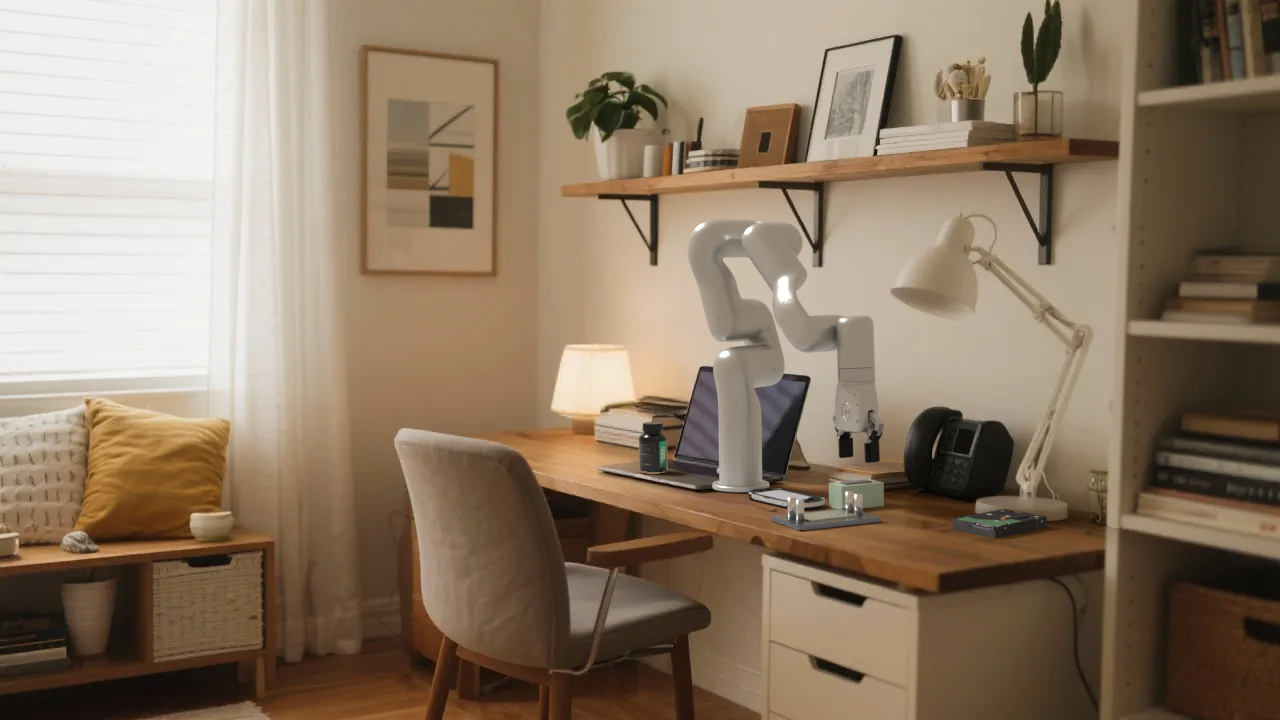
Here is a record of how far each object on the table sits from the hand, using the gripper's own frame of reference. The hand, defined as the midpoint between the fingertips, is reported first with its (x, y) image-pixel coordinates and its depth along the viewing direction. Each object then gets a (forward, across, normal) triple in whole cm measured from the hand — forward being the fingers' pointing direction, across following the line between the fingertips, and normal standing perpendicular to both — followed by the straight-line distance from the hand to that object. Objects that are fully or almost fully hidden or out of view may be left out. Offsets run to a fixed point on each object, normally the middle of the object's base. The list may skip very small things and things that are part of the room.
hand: (859, 459), depth 273 cm
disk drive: (+11, +31, +11) cm, 35 cm away
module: (+10, -1, 0) cm, 10 cm away
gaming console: (+10, -11, -11) cm, 19 cm away
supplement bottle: (+8, -61, -19) cm, 64 cm away
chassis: (+10, +10, -14) cm, 20 cm away
